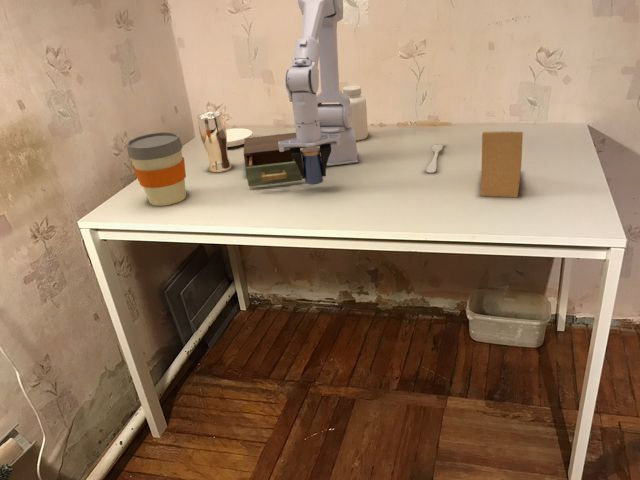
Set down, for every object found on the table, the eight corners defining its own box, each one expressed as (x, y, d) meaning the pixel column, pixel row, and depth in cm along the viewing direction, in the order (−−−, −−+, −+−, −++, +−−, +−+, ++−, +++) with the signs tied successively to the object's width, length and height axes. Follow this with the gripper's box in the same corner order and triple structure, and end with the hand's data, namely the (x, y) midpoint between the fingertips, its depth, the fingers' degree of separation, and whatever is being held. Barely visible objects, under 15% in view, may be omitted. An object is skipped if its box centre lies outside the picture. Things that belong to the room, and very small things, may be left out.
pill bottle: (368, 140, 173) (365, 89, 166) (341, 142, 174) (337, 91, 166) (368, 132, 180) (365, 83, 173) (342, 134, 181) (338, 85, 173)
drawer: (303, 186, 143) (300, 167, 140) (248, 192, 142) (245, 174, 139) (299, 163, 157) (296, 146, 155) (249, 169, 156) (246, 152, 154)
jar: (322, 176, 143) (319, 145, 139) (324, 183, 139) (321, 151, 135) (304, 179, 143) (300, 147, 139) (305, 185, 139) (301, 153, 135)
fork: (425, 181, 148) (425, 171, 147) (435, 146, 164) (434, 137, 163) (436, 181, 148) (436, 171, 146) (445, 146, 164) (445, 137, 162)
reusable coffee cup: (152, 190, 150) (136, 133, 143) (199, 187, 150) (186, 130, 142) (134, 210, 140) (116, 150, 132) (185, 207, 139) (170, 146, 131)
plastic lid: (216, 153, 173) (215, 145, 172) (203, 142, 184) (201, 134, 182) (260, 143, 179) (259, 135, 177) (244, 133, 189) (243, 125, 188)
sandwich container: (520, 172, 143) (524, 111, 135) (518, 197, 130) (523, 131, 122) (484, 171, 145) (486, 111, 137) (479, 196, 132) (482, 131, 125)
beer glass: (227, 173, 158) (216, 118, 150) (203, 172, 159) (192, 118, 152) (237, 164, 163) (227, 111, 156) (214, 164, 165) (203, 111, 157)
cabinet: (302, 170, 155) (299, 147, 152) (247, 177, 154) (243, 153, 150) (299, 154, 167) (296, 132, 163) (248, 160, 165) (244, 138, 162)
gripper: (275, 129, 130) (284, 185, 136) (340, 121, 131) (345, 178, 138) (275, 120, 136) (283, 175, 143) (336, 113, 137) (341, 168, 144)
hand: (313, 176), depth 141 cm, fingers closed on jar, 4 cm apart
